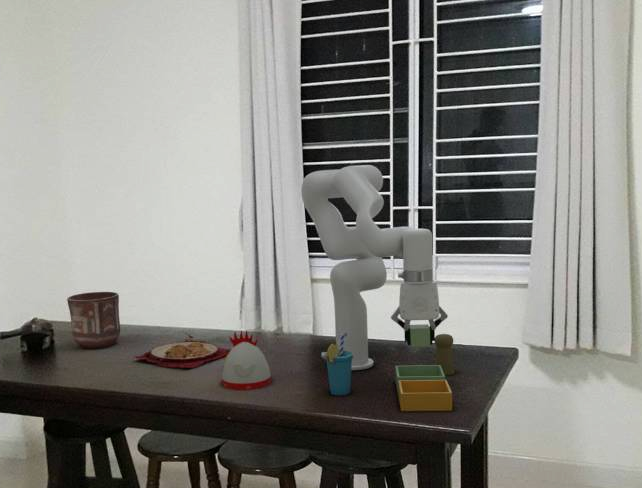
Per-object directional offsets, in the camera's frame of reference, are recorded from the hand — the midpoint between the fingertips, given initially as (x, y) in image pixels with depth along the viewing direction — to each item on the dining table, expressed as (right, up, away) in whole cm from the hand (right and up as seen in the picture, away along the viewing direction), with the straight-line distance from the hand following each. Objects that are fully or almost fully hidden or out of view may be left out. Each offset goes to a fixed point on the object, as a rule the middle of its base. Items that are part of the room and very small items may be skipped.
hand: (419, 343), depth 202 cm
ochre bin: (-1, -14, -11) cm, 18 cm away
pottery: (-101, -5, +71) cm, 123 cm away
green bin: (0, -12, +2) cm, 12 cm away
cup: (-21, -13, +2) cm, 25 cm away
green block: (0, 0, 0) cm, 0 cm away
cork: (+10, -9, +15) cm, 20 cm away
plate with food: (-66, -8, +48) cm, 82 cm away
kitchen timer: (-46, -12, +15) cm, 50 cm away
